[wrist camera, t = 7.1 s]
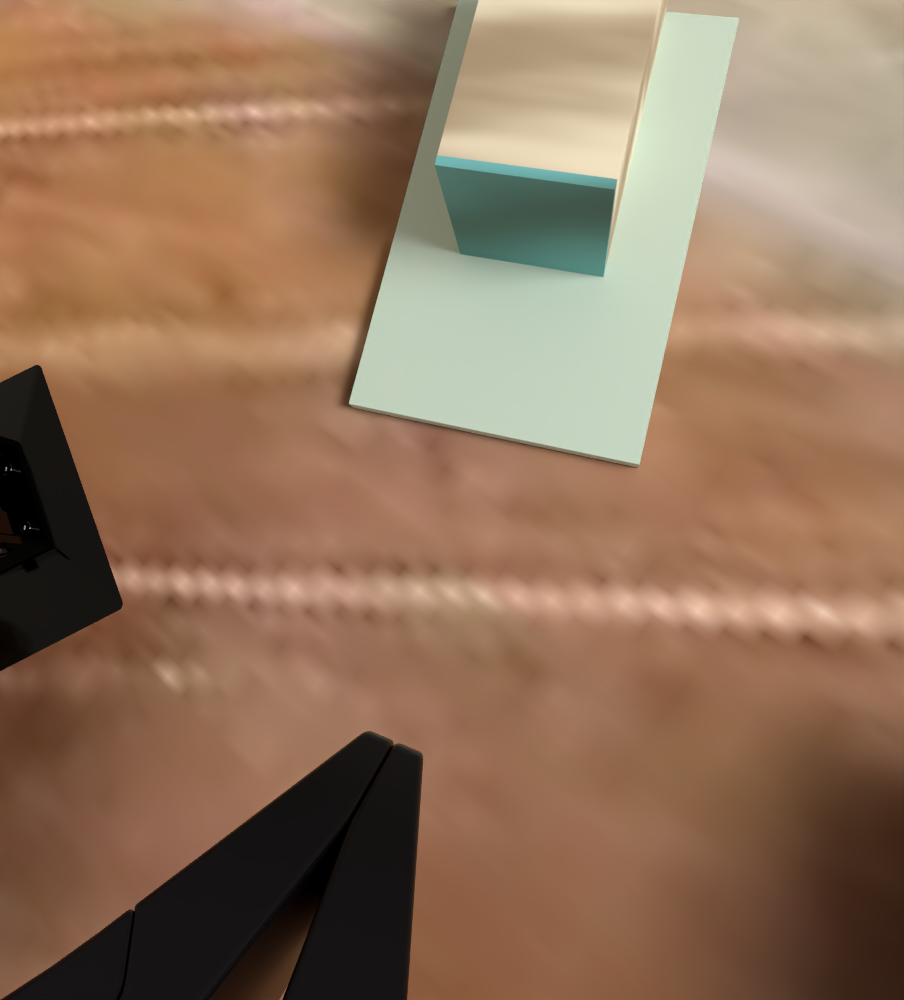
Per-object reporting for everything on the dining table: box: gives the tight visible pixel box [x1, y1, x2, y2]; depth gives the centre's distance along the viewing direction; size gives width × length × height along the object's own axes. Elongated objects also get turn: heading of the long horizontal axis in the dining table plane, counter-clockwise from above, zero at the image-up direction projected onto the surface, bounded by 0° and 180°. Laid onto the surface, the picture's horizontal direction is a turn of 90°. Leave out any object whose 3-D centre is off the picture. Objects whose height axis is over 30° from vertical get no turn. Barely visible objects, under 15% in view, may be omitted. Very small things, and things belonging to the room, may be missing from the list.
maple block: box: [435, 0, 668, 277], centre depth 21 cm, size 5×5×10 cm
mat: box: [349, 0, 739, 468], centre depth 24 cm, size 16×10×1 cm, turn 166°
